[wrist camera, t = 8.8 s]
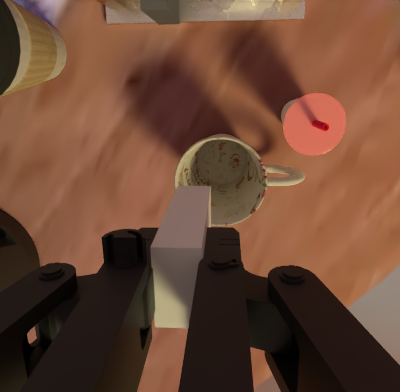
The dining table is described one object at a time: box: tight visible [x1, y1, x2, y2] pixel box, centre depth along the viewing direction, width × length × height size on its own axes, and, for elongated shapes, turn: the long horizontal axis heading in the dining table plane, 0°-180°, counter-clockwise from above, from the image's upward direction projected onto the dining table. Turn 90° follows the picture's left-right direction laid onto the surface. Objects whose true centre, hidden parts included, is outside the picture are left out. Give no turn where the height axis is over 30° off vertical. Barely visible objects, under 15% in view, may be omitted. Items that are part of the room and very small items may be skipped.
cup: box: [281, 93, 346, 155], centre depth 36 cm, size 5×5×12 cm
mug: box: [174, 134, 305, 226], centre depth 39 cm, size 8×13×10 cm, turn 90°
